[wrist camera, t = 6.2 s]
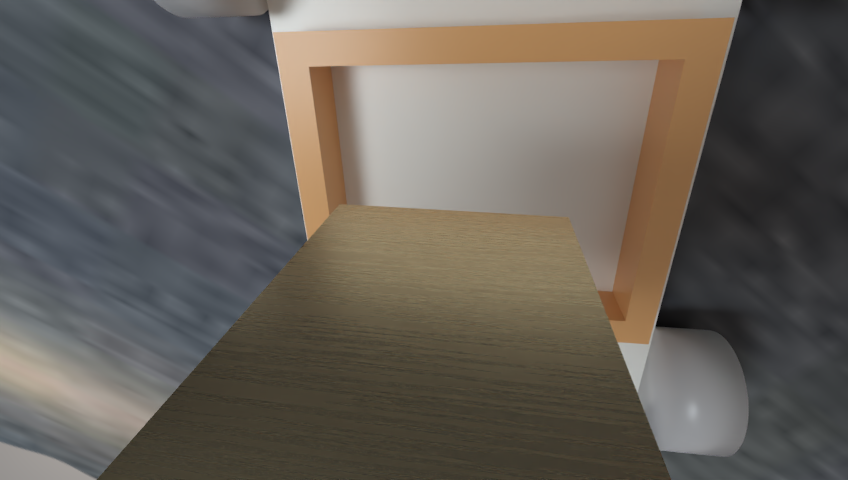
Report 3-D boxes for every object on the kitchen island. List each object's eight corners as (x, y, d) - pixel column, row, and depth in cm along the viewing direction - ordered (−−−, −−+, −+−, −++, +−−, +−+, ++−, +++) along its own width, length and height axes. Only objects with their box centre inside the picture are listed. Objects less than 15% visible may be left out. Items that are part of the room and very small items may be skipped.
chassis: (194, -150, 14) (59, -229, 10) (868, -217, 11) (1108, -371, 7) (299, 358, 24) (255, 433, 20) (675, 389, 21) (723, 485, 17)
